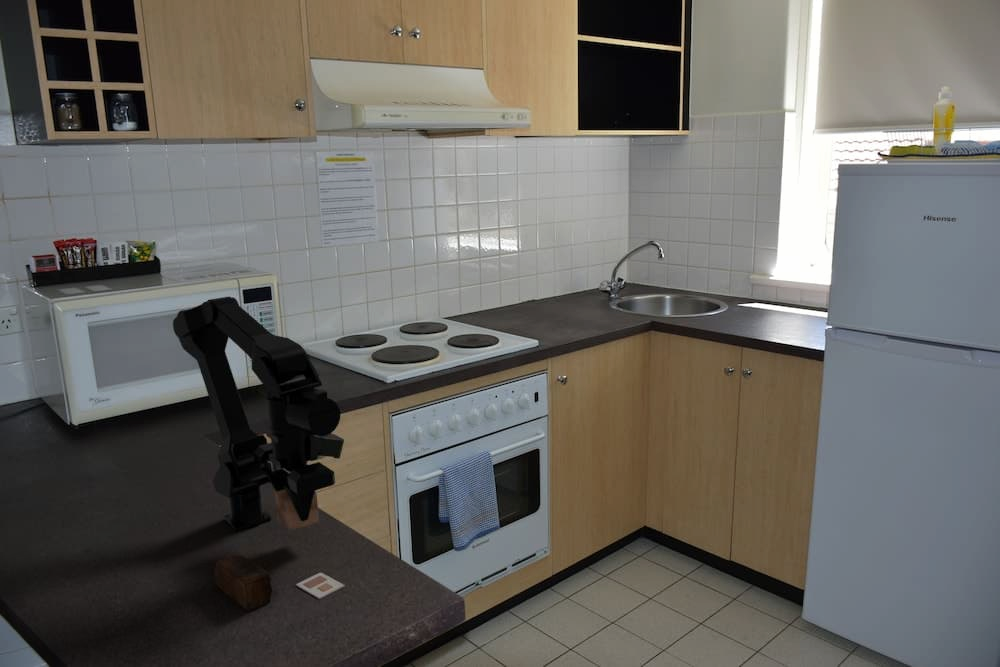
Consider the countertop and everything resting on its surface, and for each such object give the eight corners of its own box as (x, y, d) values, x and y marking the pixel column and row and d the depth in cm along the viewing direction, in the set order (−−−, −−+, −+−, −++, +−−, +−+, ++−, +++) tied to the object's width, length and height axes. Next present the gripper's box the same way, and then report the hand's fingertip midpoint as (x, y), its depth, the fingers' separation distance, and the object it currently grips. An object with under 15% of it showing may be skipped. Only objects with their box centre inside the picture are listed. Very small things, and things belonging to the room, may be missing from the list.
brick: (274, 602, 110) (271, 572, 109) (248, 613, 107) (244, 583, 106) (240, 577, 117) (236, 548, 116) (215, 587, 114) (211, 558, 114)
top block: (277, 520, 125) (274, 492, 124) (306, 511, 128) (303, 483, 127) (289, 531, 121) (286, 501, 120) (319, 521, 124) (316, 492, 123)
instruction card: (295, 585, 114) (295, 583, 114) (320, 573, 117) (320, 571, 117) (319, 599, 110) (319, 597, 110) (344, 586, 113) (344, 584, 113)
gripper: (361, 425, 119) (369, 518, 122) (311, 400, 133) (319, 484, 137) (293, 442, 112) (303, 541, 116) (248, 414, 127) (258, 502, 130)
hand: (297, 514), depth 125 cm, fingers closed on top block, 5 cm apart
